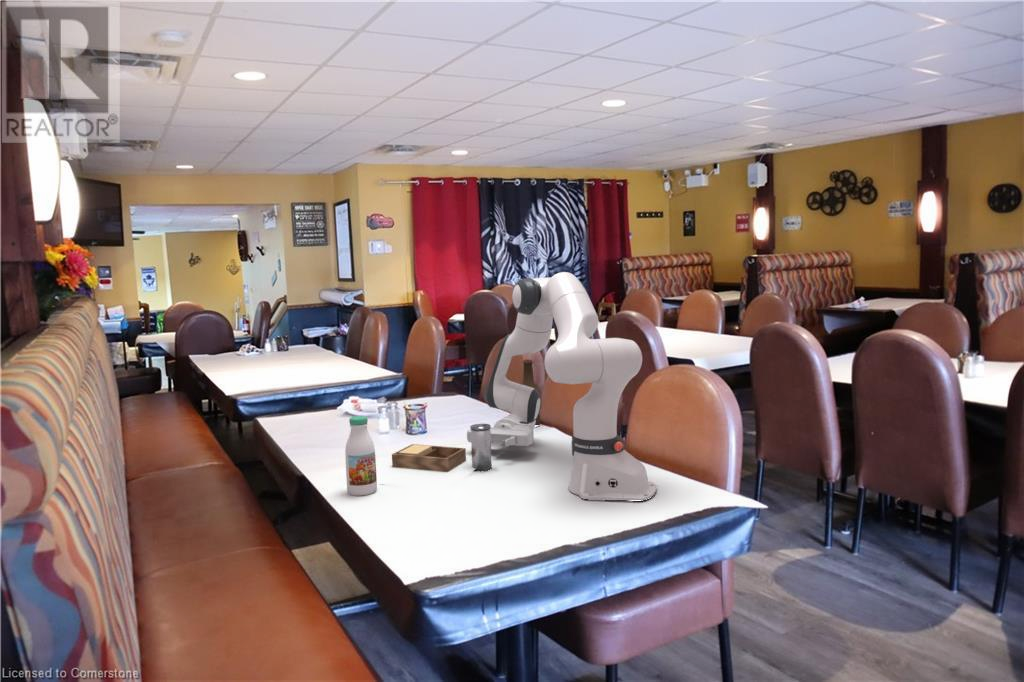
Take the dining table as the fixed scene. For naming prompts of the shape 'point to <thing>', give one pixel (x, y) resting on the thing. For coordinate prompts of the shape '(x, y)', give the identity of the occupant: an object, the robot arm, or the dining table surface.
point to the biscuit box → (417, 450)
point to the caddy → (431, 459)
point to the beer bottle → (529, 380)
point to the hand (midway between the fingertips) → (489, 442)
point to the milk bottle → (360, 459)
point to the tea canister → (481, 447)
